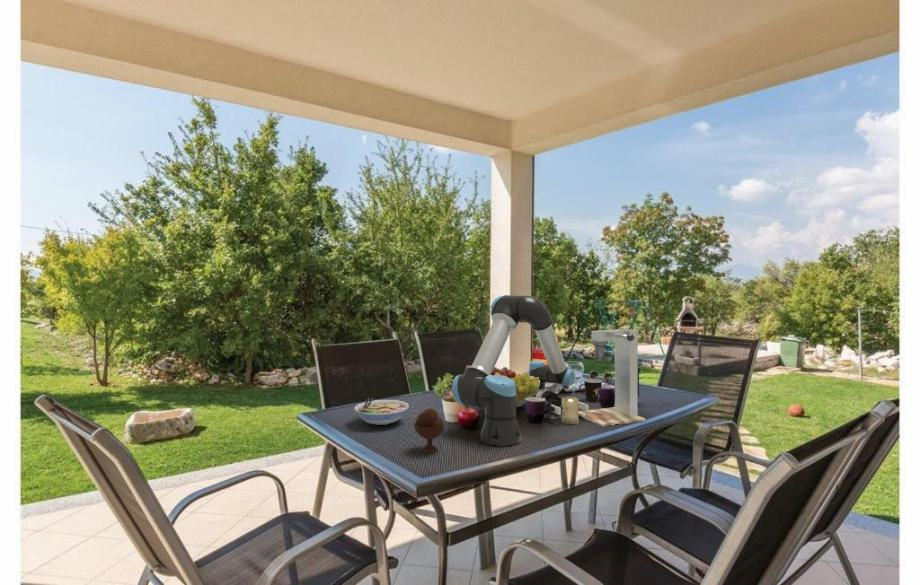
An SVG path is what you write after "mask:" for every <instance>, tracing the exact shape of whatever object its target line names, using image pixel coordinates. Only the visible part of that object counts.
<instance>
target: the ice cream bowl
mask: <svg viewBox="0 0 920 585" xmlns="http://www.w3.org/2000/svg"><path fill="white" fill-rule="evenodd" d="M415 420H416V421H415V422H414V424H413V426H414V430H415V432H416V433H417V434H418V436H420V437H422V439H425V440H426V441H427V442H426V443H427V444H426V445H424V446H423V447H422V449H421V451H422V450H423V451H427V452H433V451H436V450H437V449H438V447H437V446H435V445H434V444H433V440H434V439H436V438H439V436H441V434H442V432H443V430H444V428H445V425H446V422H445V421H444V420H443V419H442V417H440V416H439V414H438V411H437V410H436V409H433V408H426V409H425V410H424V411H422V412H420V413H419V414H418V415H417V417H416V419H415ZM423 451H422V452H423ZM437 451H438V450H437ZM437 451H436V452H437ZM433 453H434V452H433Z"/></svg>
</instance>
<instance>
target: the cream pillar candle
mask: <svg viewBox="0 0 920 585" xmlns="http://www.w3.org/2000/svg"><path fill="white" fill-rule="evenodd" d="M561 398H562V406H561V423H562V424H564V423H565V424H564V425H568V424H575V425H578V424H579V417H580V416H579V411H580V410H579V400H580V399H579V398H578V397H574V396H564V397H561Z"/></svg>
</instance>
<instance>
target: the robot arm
mask: <svg viewBox="0 0 920 585" xmlns="http://www.w3.org/2000/svg"><path fill="white" fill-rule="evenodd" d="M490 309H491V310H490V316H491V321H492V323H491V326H490V327H489V330H488V332H487V334H486V335H485V338H484V340H483V342H482V344H481V345H480V348H479V350H478V352H477V354H476V357H475V358H474V361H473V363H472V365H470V366H467V367H466V368H465V370H464V372H463V373H462V374H458V375H456V376H455V377H454V379H453V381H452V384H451V395H452V398H453V399H454V401H455V403H457V404H459V405H461V406H464V407H471V408H477V409H482V410H484V421H483V425H482V427H481V431H480V441H481V443H483V442H484V444H485V443H486V444H485V445H488V444H489V446H493V445H497V446H496V447H509V446H508V445H511V446H515V445H518V444H519V443H520V442H521V441H522V434H521V431H520V428H519V425H518V421H517V387H516V382H515V380H513V379H512V378H510V377H507V376H503V375H495V374H494V375H493V374H492V373H493V372H494V369H495V368H496V366H497V365H496V364H497V362H498V360H499V358H500V357H501V356H500V355H501V354H502V353H503V352H502V351H503V349H504V347H505V346H506V343H507V341H508V339H509V336H510V334H511V332H512V331H514V330H516V329H517V327H518V325H519V323H523V324H524V323H526V324H529V325H530V328H531V329H532V330H533V331H535V335H536V336H537V339H538V340H537V341H538V342H539V344H540V348H541V349H542V352H543V355H544V357H545V360H546V363H547V365H546V363H545V361H542V360H531V361H530V362H529V368H528V373H529V375H530V376H534V377H539V380H540V386H539V390H538V392H537V393H536V395H534V396H533V397H542V398H546V405H545V411H544V412H546V411H547V413H551V412H552V413H554V414H556V415H559V416H562V398H563V397H560V396H559V395H558V394H557V393H556V392H554V391H552V390H549V389H547V388H546V384H548V383H549V384H553V385H554V384H555V385H559V386H560V385H561V386H572V385H573V384H574V382H575V379H576V374H575V370H574V369H571V368H568V367H567V365H566V362H565V359H564V356H563V353H562V350H561V348H560V344H559V342H558V339H557V336H556V334H555V330H554V328H553V327H554V326H553V317H552V315H551V313H550V311H549V310H548V308H547V307H546V306H545V304H543V302H542V301H541V300H539V299H538V298H536V297H534V296H532V295H509V294H504V295H499V296H497V297H495V299H494V300H493V301H492V303H491V306H490ZM529 375H528V376H529ZM589 407H590V406H589V404H586V403H585V402H584V400H582V399H579V409H580V410H581V411H587V412H589V410H590V409H589ZM517 443H518V444H517ZM514 444H515V445H514Z"/></svg>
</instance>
